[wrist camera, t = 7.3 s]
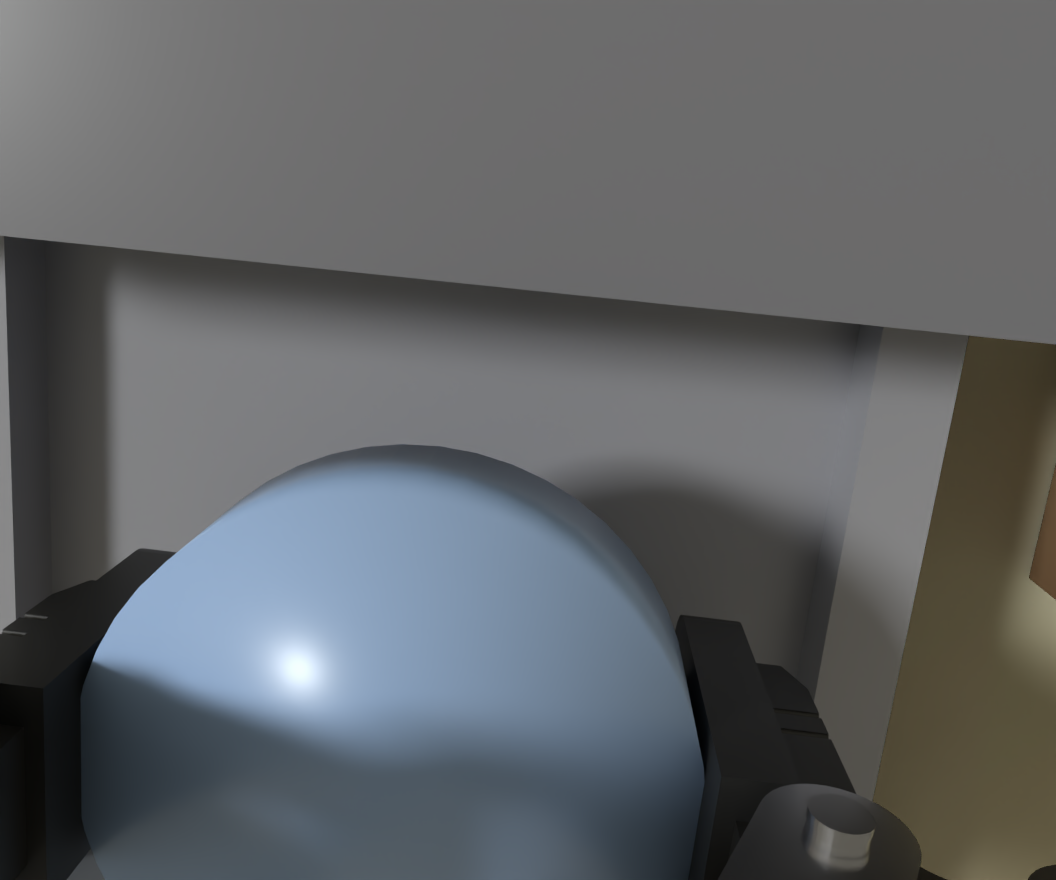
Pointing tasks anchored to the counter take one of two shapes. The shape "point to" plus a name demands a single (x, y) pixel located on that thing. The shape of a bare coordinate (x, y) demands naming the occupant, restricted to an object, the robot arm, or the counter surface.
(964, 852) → the counter surface
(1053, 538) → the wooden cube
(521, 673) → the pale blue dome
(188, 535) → the tray
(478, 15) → the housing
